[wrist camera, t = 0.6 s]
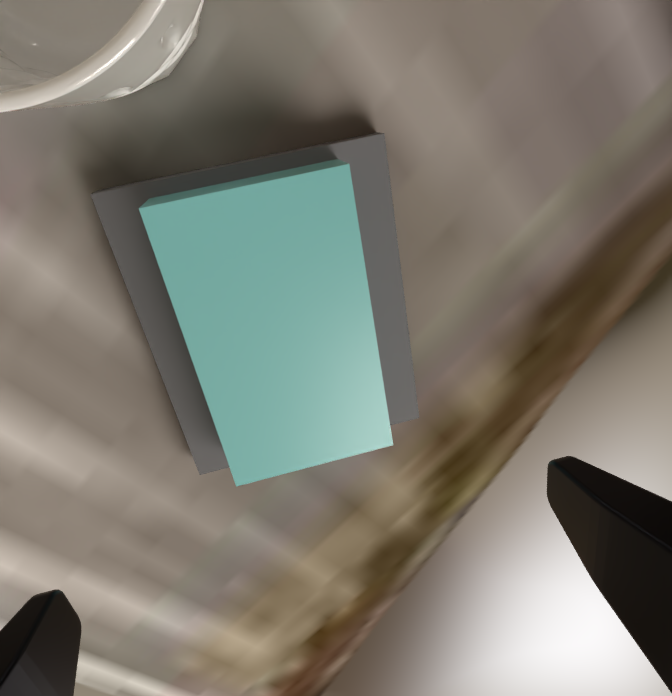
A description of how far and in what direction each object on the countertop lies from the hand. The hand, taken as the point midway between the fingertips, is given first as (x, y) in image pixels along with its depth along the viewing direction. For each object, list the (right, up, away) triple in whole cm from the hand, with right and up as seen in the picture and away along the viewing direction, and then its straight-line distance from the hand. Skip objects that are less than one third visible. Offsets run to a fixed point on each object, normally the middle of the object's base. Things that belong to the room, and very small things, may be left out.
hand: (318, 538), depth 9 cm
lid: (-2, +4, +10) cm, 11 cm away
